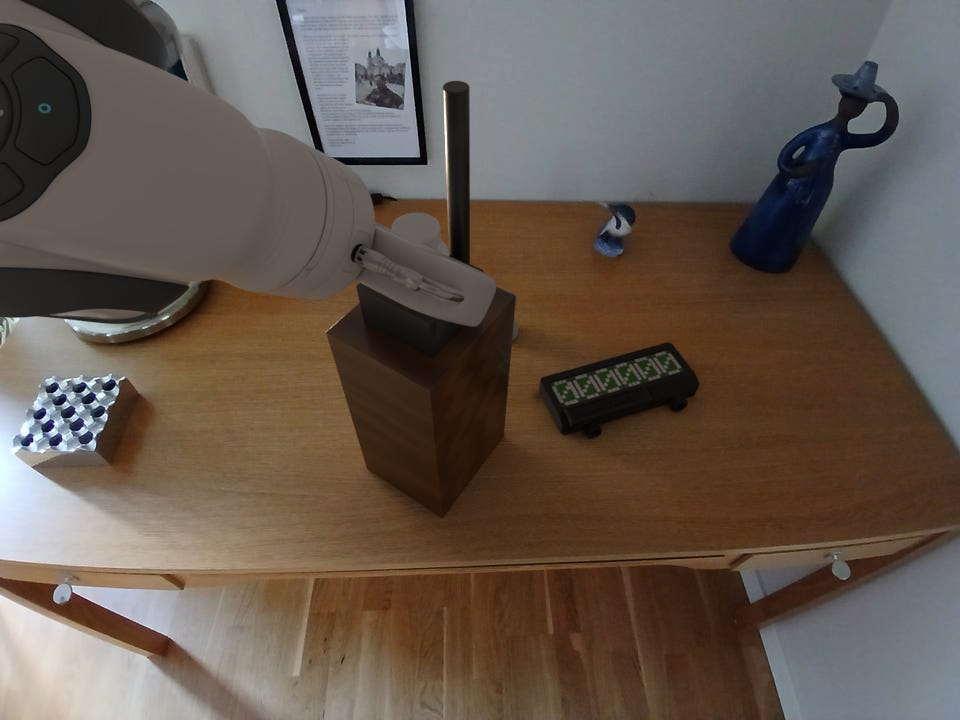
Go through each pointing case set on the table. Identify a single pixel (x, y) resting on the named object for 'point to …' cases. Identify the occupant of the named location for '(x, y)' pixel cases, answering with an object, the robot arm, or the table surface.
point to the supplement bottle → (421, 230)
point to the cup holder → (429, 362)
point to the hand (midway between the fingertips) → (413, 262)
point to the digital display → (618, 388)
